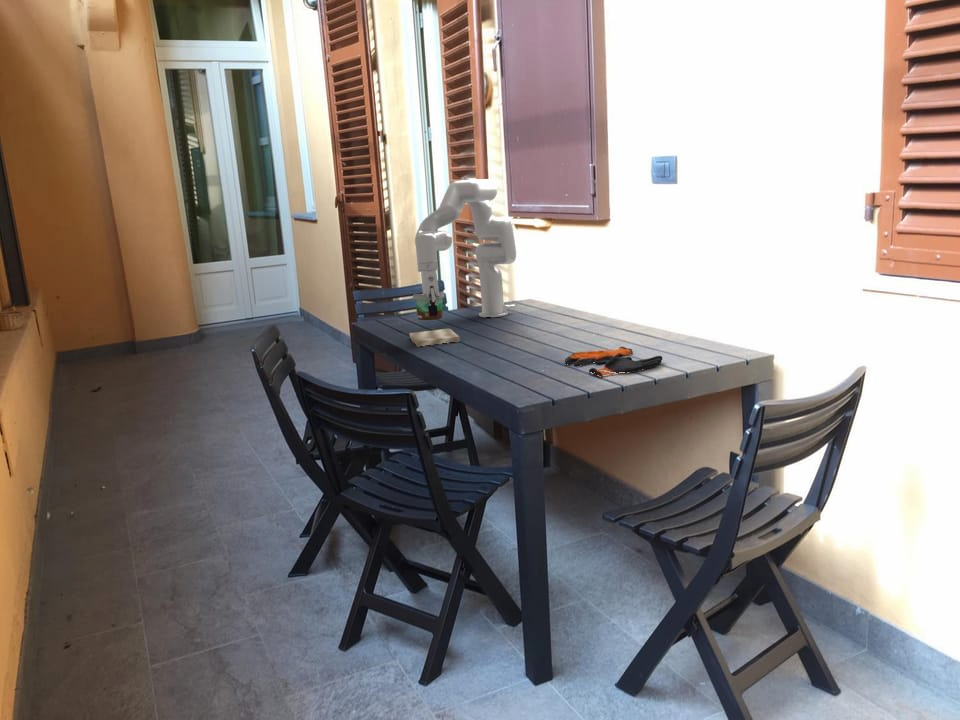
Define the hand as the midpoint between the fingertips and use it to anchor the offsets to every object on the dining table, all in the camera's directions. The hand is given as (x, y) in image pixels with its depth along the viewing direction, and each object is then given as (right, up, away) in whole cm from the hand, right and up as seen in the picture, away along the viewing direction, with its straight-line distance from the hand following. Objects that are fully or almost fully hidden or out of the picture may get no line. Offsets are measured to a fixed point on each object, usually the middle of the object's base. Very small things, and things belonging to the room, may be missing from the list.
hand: (431, 314), depth 297 cm
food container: (0, -2, 0) cm, 2 cm away
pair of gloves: (+59, -19, -53) cm, 82 cm away
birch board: (+1, -10, +2) cm, 10 cm away
